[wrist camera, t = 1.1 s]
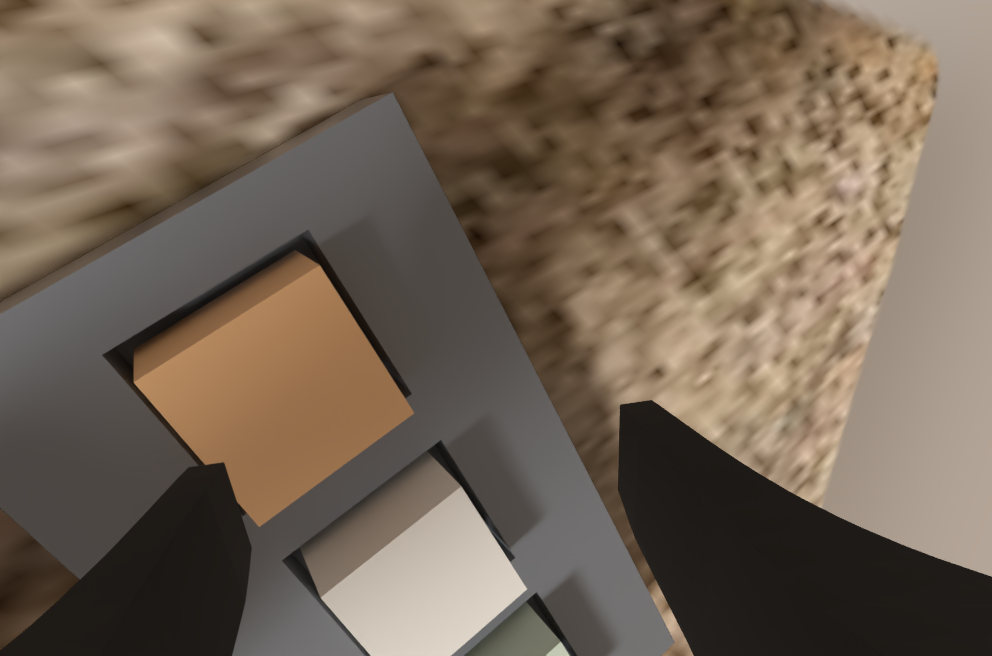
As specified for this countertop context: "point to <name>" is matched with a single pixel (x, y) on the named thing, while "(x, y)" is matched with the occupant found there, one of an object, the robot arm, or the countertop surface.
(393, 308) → the keypad
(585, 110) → the countertop surface
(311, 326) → the orange key
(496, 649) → the sage key
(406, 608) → the white key
